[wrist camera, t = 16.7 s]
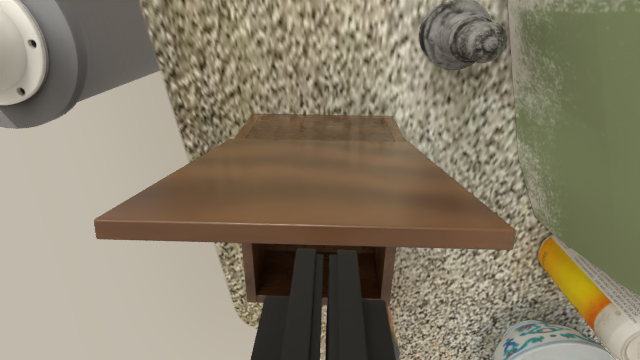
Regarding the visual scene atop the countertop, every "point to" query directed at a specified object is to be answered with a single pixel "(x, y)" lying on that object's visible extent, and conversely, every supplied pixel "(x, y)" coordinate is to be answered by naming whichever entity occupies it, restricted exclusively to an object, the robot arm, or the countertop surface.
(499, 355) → the chinaware
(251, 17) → the countertop surface
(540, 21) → the grocery bag
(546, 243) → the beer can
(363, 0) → the countertop surface
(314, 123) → the chest
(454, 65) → the grey chess piece
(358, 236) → the chest lid
